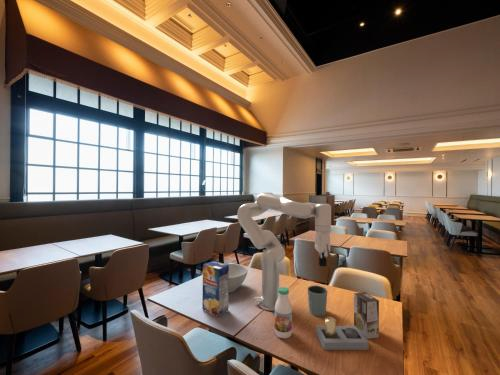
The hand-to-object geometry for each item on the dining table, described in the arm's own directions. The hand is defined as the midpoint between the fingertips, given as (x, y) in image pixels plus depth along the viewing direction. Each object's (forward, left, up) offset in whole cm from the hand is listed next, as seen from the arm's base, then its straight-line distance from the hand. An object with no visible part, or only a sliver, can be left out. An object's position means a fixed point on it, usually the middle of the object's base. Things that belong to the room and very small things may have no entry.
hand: (322, 265), depth 114 cm
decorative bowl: (-50, +36, -27) cm, 67 cm away
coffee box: (+17, -9, -27) cm, 33 cm away
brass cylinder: (-1, -15, -27) cm, 31 cm away
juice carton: (-54, +10, -27) cm, 61 cm away
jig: (+3, -15, -27) cm, 31 cm away
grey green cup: (0, +8, -27) cm, 28 cm away
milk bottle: (-21, -10, -27) cm, 36 cm away
